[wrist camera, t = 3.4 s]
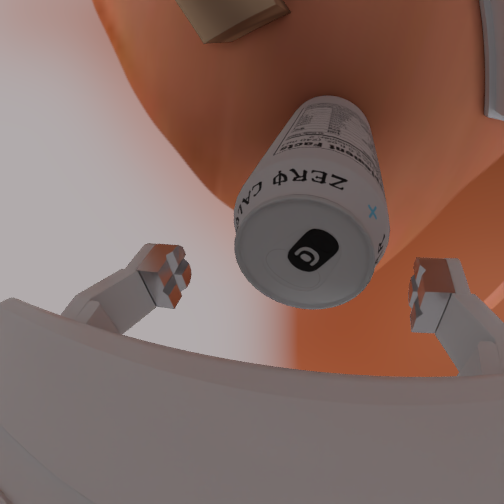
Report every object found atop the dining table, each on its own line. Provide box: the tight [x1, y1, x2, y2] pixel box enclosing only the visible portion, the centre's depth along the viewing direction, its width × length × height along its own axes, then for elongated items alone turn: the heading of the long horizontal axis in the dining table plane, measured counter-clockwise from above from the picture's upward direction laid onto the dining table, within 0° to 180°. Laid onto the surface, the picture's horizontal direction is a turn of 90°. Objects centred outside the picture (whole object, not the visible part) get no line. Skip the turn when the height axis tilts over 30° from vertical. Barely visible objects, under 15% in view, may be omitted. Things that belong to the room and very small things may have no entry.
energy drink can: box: [234, 96, 390, 309], centre depth 16 cm, size 6×6×15 cm
